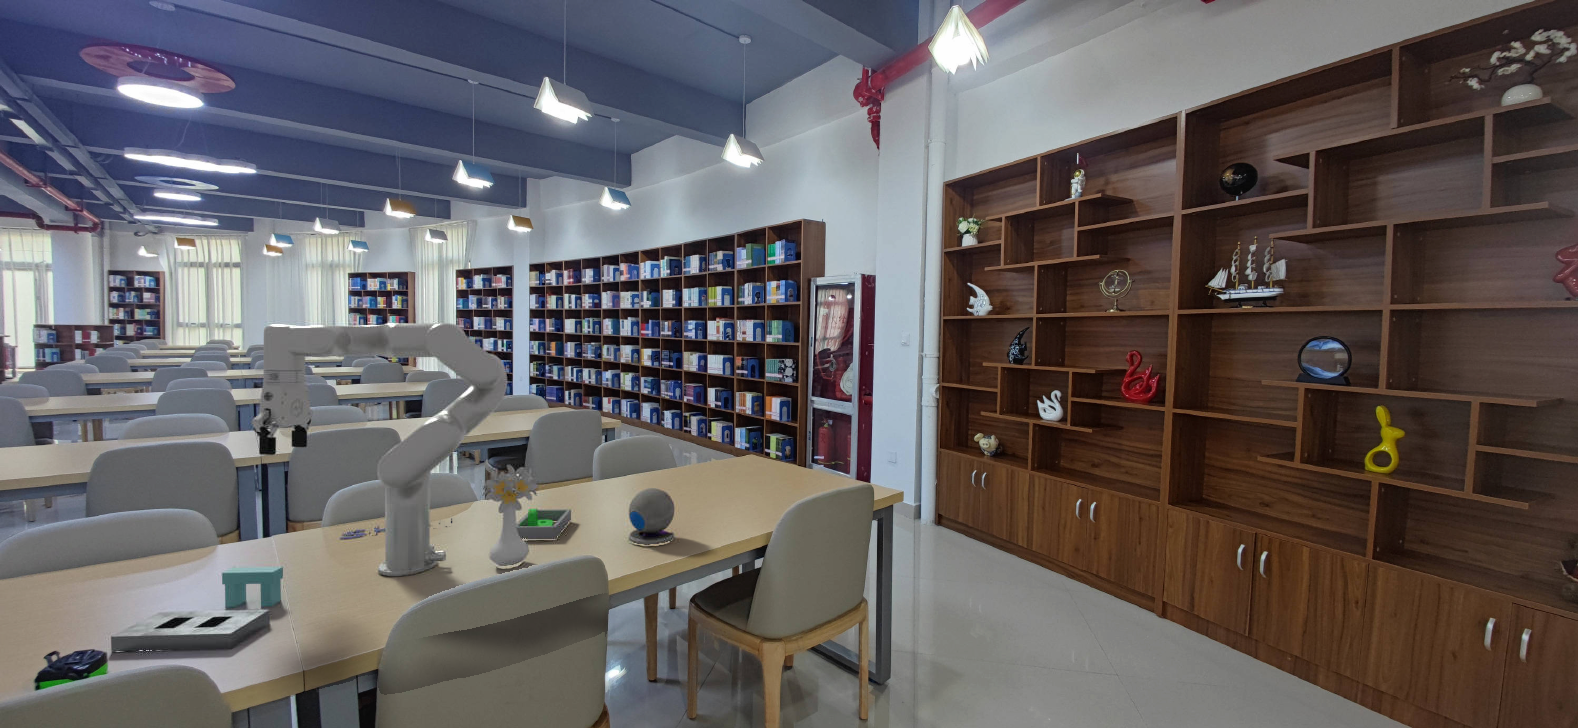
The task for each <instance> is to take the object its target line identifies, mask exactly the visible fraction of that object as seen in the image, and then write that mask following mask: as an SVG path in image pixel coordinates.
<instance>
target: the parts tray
mask: <svg viewBox="0 0 1578 728" xmlns="http://www.w3.org/2000/svg"><path fill="white" fill-rule="evenodd" d="M537 511H538V520H552V521H557V522H556V523H553V526H528V513H527V514H525V515H524V516H523V517H521V519H520V520H519V521H517V522H516V528H517V532H518V534H519V536H520V538H521V539H523V538H524V539H525V538H526V539H556V538H557V536H558V535H559V534H560V533H561V531H562V530H563V529H564V528H565V526H566V525H567V524H568V522H569V521H570V520H571V521H572V509H571V508H570V509H569V508H568V509H567V508H566V509H564V508H563V509H560V508H559V509H558V508H557V509H556V508H555V509H537ZM557 539H558V538H557Z"/></svg>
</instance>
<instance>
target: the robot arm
mask: <svg viewBox="0 0 1578 728" xmlns="http://www.w3.org/2000/svg"><path fill="white" fill-rule="evenodd" d="M336 356H337V357H338V356H340V357H341V356H379V357H384V358H391V359H393V358H395V359H396V358H397V359H401V358H436V359H437V360H438V361H439V362H440V363H442V364H443V365H444V366H445V367H447V368H448V369H449V370H450V371H452V372H453V373H454V374H455V375H458V377H459V378H460V379H462V380H463V381H464V382H466V383H467V384H469V387H468V388H467V389H466V390H465V391H464V392H463V393H462V394H460V396H458V397H457V398H456V399H454V401H452V402H451V403H450V404H449V405H447V407H446V406H445V408H444V409H442V410H441V411H440V412H438V413H437V414H435V415H433V416H432V417H430V418H428V419H427V420H426V421H424V422H423V423H422V424H421V425H420V426H418V428H416V429H415V430H414V431H413V432H412V433H410V434H409V435H408V436H406V437H405V438H404V439H403V440H402V441H401V442H399V443H398V444H396V445H394V446H393V447H392V448H390V450H388V451H387V452H386V453H385V454H384V455H383V456H382V457H381V458H380V460H379V462H378V464H377V468H376V473H377V477H378V479H379V482H380V483H382V484H383V485H384V486H385V493H384V494H385V495H384V497H385V499H384V500H385V501H384V503H385V504H384V506H385V507H384V528H385V532H384V536H385V539H384V543H385V548H384V549H385V561H383V562H381V563H380V564H379V565H378V566H377V571H378V574H380V575H382V576H385V575H386V576H388V577H401V576H402V577H404V576H410V575H409V574H411V575H415V574H414V573H416V574H419V573H418V572H420V573H423V572H425V570H426V571H427V570H430V569H432V568H433V566H434V565H435V564H436V565H437V563H438V562H445V561H446V560H447V554H446V551H445V550H439V551H436V550H435V545H432V544H431V543H430V542H431V535H430V533H431V531H430V530H431V528H430V527H431V524H430V523H431V521H430V519H431V517H430V514H431V513H430V512H431V511H430V509H431V508H430V503H431V501H430V500H431V495H430V494H431V491H430V490H431V489H430V488H431V475H432V474H431V473H432V471H433V470H434V469H435V468H436V467H437V466H439V465H440V464H441V463H442V462H444V461H445V460H446V459H447V458H448V457H450V455H452V454H453V453H454V452H455V451H456V450H457V448H459V446H460V445H461V443H462V441H463V440H464V439H465V438H466V437H467V436H469V434H470V433H471V432H473V430H474V429H476V428H477V427H478V426H479V425H480V424H482V422H484V421H485V420H486V419H487V418H489V416H491V414H492V413H494V412H495V410H496V409H497V408H498V407H499V406H500V404H501V403H502V401H503V399H504V397H505V395H506V391H507V387H508V376H507V370H506V366H505V365H504V362H503V361H502V359H500V358H499V357H498V356H497V355H494V354H492V353H488V352H487V351H486V350H485V349H484V348H482V347H480V345H478V344H477V343H476V342H474V341H473V340H472V339H470V338H469V336H467V335H466V333H465V331H464V330H463V328H461V326H459V325H457V324H454V323H449V322H448V323H444V322H443V323H432V322H431V323H429V322H428V323H425V322H423V323H421V322H420V323H416V322H415V323H405V322H404V323H401V322H400V323H398V322H394V323H393V322H392V323H391V322H390V323H384V324H378V325H377V324H376V325H327V324H325V325H323V324H322V325H321V324H320V325H308V326H307V325H306V326H301V325H295V324H268V325H267V326H265V327H264V330H263V379H262V381H263V384H262V388H261V393H260V399H259V401H260V402H259V411H258V412H259V414H257V416H255V417H254V418H252V420H251V424H252V427H253V428H254V429H253V430H254V432H255V433H256V437H257V438H258V439H259V440H258V441H259V442H258V443H259V444H258V445H259V446H258V447H259V448H258V449H259V450H258V454H259V455H261V456H263V455H265V456H273V455H276V453H277V437H276V436H275V434H276V433H277V431H278V429H279V428H280V429H287V428H291V427H292V429H293V430H292V429H291V447H292V448H306V447H308V431H309V429H310V424H311V422H312V417H313V415H314V411H313V409H311V406H310V405H311V404H310V394H309V389H308V385H307V382H306V357H312V358H313V357H314V358H328V357H329V358H330V357H336ZM436 565H435V566H436ZM435 566H434V567H435ZM422 571H423V572H422ZM403 575H404V576H403Z"/></svg>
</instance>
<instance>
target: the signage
mask: <svg viewBox="0 0 1578 728" xmlns="http://www.w3.org/2000/svg"><path fill="white" fill-rule="evenodd" d="M364 529H365V528H364ZM364 529H354V530H355V531H354V532H356V533H351V532H353V530H348V531H349V532H347V534H346V533H345V534H342V535H356V536H340V537H339V540H340V539H344V540H354V539H359V538H362V537H361V536H363V535H365V533H366V532H359V531H366V529H365V530H364ZM374 529H375V530H374V532H376V533H377V534H378V533H379V532H378V531H385V527H383V528H379V527H377V528H376V527H375V528H374ZM350 531H351V532H350ZM370 533H371V532H370ZM358 537H359V538H358ZM363 537H364V536H363ZM353 538H354V539H353Z"/></svg>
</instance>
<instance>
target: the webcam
mask: <svg viewBox="0 0 1578 728" xmlns="http://www.w3.org/2000/svg"><path fill="white" fill-rule="evenodd" d="M674 516H675V504H674V501H673V498H671V496H670V494H669V493H667V492H666V491H664V490H662V489H659V488H655V487H654V488H653V487H651V488H645V489H643V490H641V491H640V492H638V493H637V494H636V495H635V496H634V497H633V498H632V500H631V501H630V503H629V506H628V517H629V520H630V521H629V522H630V523H631V525H632V526H633V527H634V529H635V530H633V531H631V532H630V533H629V534H628V542H629V541H631V542H633V543H637V544H644V545H650V544H659V543H665V542H668V541H671V540H672V539H673V538H674V539H675V533H674V532H672V531H671V532H669V531H668V530H666V529H667V528H668V527H669V526H670V524H671V523H672V522H673V519H674Z"/></svg>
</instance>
